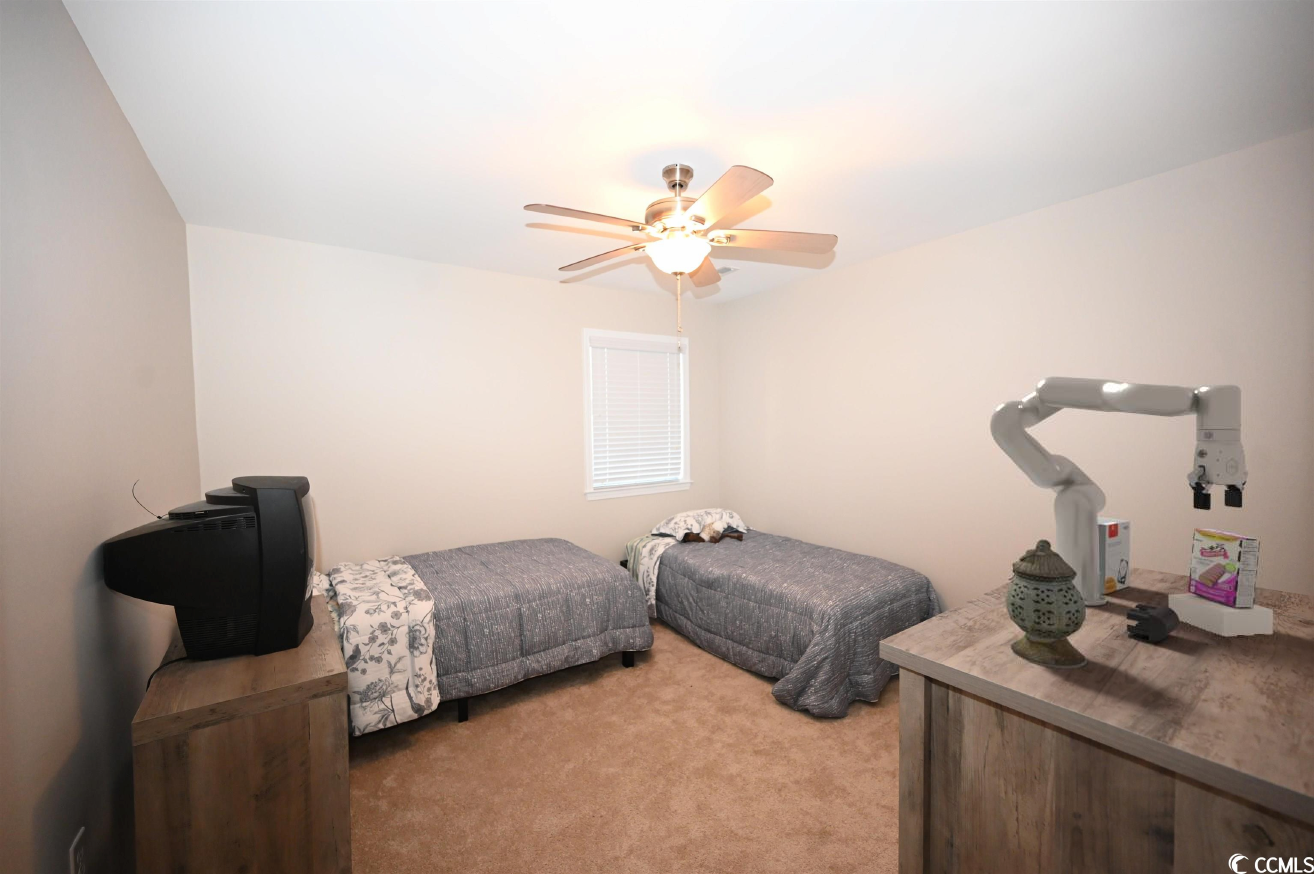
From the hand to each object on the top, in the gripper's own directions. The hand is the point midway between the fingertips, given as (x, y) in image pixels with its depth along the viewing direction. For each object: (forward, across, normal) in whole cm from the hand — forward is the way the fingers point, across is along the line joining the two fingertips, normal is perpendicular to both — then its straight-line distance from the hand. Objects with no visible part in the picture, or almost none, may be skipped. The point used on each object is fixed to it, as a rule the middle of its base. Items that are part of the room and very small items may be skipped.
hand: (1217, 508), depth 134 cm
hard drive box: (+29, +3, +30) cm, 42 cm away
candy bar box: (+23, 0, 0) cm, 23 cm away
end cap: (+29, -22, -2) cm, 36 cm away
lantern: (+29, -53, -3) cm, 60 cm away
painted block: (+29, 0, 0) cm, 29 cm away
